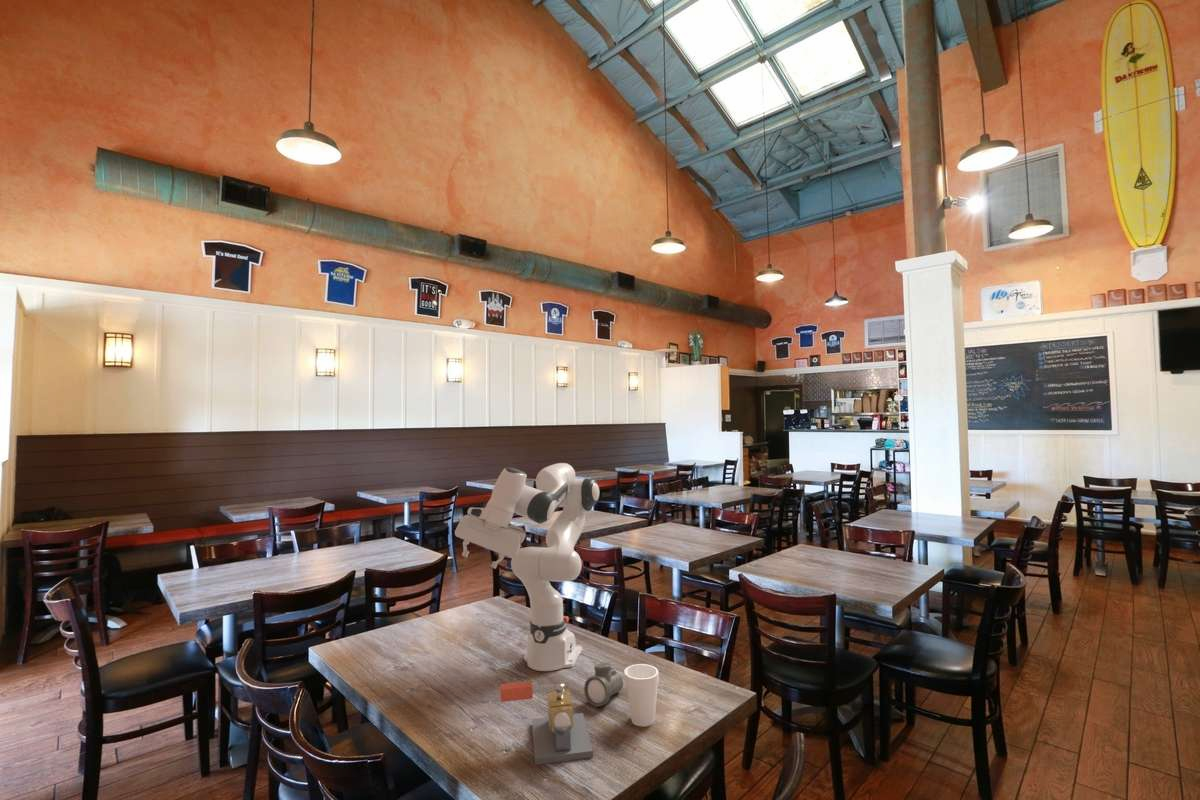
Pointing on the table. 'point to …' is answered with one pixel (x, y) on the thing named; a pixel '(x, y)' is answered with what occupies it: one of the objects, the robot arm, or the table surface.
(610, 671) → the pipe fitting
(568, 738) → the pipe and valve
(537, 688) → the valve lever
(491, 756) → the table surface
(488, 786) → the table surface
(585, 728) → the slate plate
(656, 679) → the foam cup
